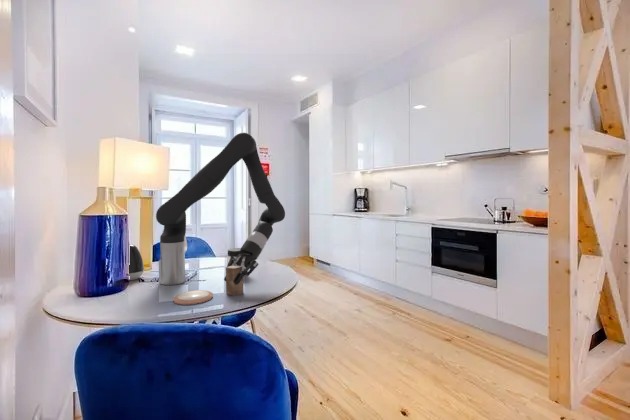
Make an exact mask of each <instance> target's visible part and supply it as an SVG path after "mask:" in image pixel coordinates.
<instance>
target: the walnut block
mask: <svg viewBox="0 0 630 420" xmlns="http://www.w3.org/2000/svg"><path fill="white" fill-rule="evenodd" d="M240 269H241V267H240V266H238V265H235V266H229V267H227V266H226V267H225V276H226V281H225V294H226V295H230V296H233V297H234V296H235V297H236V296H238V295H241V294H244V277H243V278H242V279H241V281H240V283H239V284H238V285H236V284H235V283H233V280H234V279H235V277H236V276H237V274H238V273H239V271H240Z"/></svg>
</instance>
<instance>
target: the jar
mask: <svg viewBox="0 0 630 420" xmlns="http://www.w3.org/2000/svg"><path fill="white" fill-rule="evenodd" d="M240 249H241V247H237V248H236V247H235V248H228V249H227V255H226V266H227V265H228V263H229V260H230V258H231V257H232V256H233V257H237V256H238V255H239V254H240ZM246 276H247V275H245V276H244V277H246Z"/></svg>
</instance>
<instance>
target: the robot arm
mask: <svg viewBox="0 0 630 420" xmlns="http://www.w3.org/2000/svg"><path fill="white" fill-rule="evenodd" d="M241 160H243V163H244V164H245V166H246V168H247V171H248V174H249V177H250V181H251V185H252V187H253V190H254V192H255V195H256V198H257V199H258V202H259V203H260V204H264V205H265V206H266V208H265V209H264V210H263V211H262V213H261V214H260V217H259V219H258V222H257V225H256V226H255V228H254V229H253V230H252V232H251V233H250V234H249V235H248V236H247V238H246V240H245V241H244V243H243V244H242V246H241V247H240V248H241V249H240V254H239V255H238V256H237V257H233V256H232V257H231V258H230V260H229V263H228V265H227V264H226V267H229V266H235V265H238V266H240V267H241V269H240V271H239V273H238V274H237V276H236V277H235V279H234V280H233V283H235V284H236V285H238V284H239V283H240V281H241V279H242V278H243V279H244V277H246V276H247V277H248V276H250V275H251V274H252V273H253V272H254V270H256V268H257V267H259V263H258V261H257V260H258V259H259V257H260V255H261V253H262V252H263V250H264V248H265V246H266V244H267V242H268V240H269V239H270V237H271V235H272V233H273V230H274V229H273V226H274V224H276V223H280V222H282V221H283V220H284V219H285V216H286V212H285V208H284V206H283V204H282V203H281V202H280V200H279V198H278V197H276V195H275V193H274V190H273V188H272V185H271V183H270V181H269V179H268V177H267V175H266V172H265V170H264V167H263V164H262V163H261V159H260V156H259V152H258V146H257V142H256V140H255V138H254V137H253V136H252V135H251V134H250V133H247V132H238V133H237V134H236V135H235V136H233V138H231V140H229V142H228V144H227V145H226V146H225V147H223V149H222V150H221V152H219V153H218V154H217V155H216V156H215V157H214V158H212V159H210V161H209V162H208V163H207V164H205V165H204V166H203V167H202V168H201V169H200V170H198V171H197V173H195V174H194V176H193V177H192V178H191V179H190V180H188V182H187V183H185V185H184V186H183V187H182V188H181V189H180V190H179V191H178V192H177V193H176V194H174V195H173V196H172V197H171V198H170V199H168V200H166V201H165V202H164V203H163V204H162V205H160V206H159V207H158V209H157V210H156V214H155V217H156V221H157V222H158V224H159V225H161V226H163V231H162V233H161V234H160V237H159V242H160V244H159V245H160V259H159V260H158V284H161V285H165V286H173V285H179V284H183V283H185V282H186V275H185V272H186V261H185V260H186V257H185V254H186V252H185V248H184V237H185V236H186V233H187V214H186V211H187V210H188V209H189V208H190V207H191V206H193V205H194V204H196V203H197V202H198V201H200V200H202V199H203V198H205V197H206V196H208V195H209V194H210V193H212V192H213V191H214V190H215V189H217V187H218V186H219V185H220V184H221V183H222V182H223V181H224V179H225V178H226V176H227V175H228V173H229V172H230V170H232V168H233V167H234V166H235V165H236V164H237V163H239V161H241ZM245 275H246V276H245ZM223 281H225V282H226V275H225V276H224V278H223Z"/></svg>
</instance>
